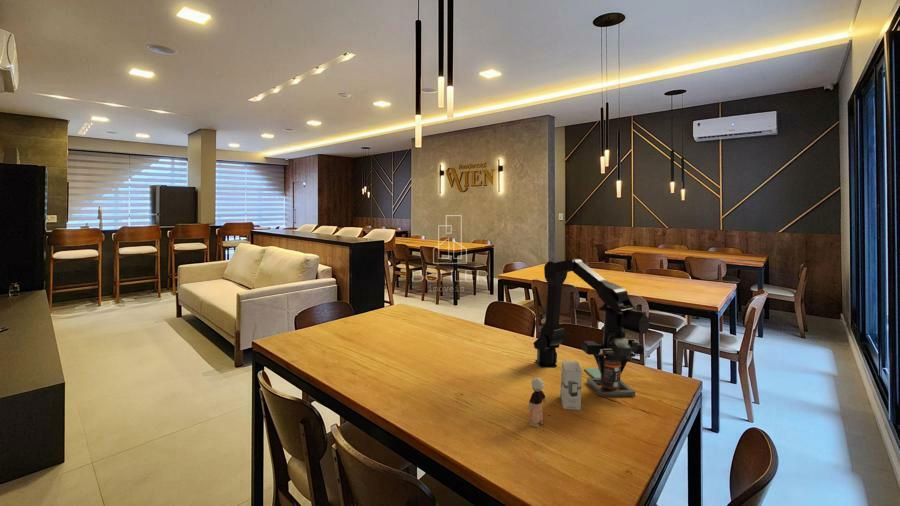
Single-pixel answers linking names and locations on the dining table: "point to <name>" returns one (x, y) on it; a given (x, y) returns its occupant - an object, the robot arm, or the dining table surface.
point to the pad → (593, 372)
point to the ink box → (571, 385)
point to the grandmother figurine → (536, 403)
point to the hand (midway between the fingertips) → (610, 373)
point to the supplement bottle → (611, 371)
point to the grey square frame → (610, 393)
